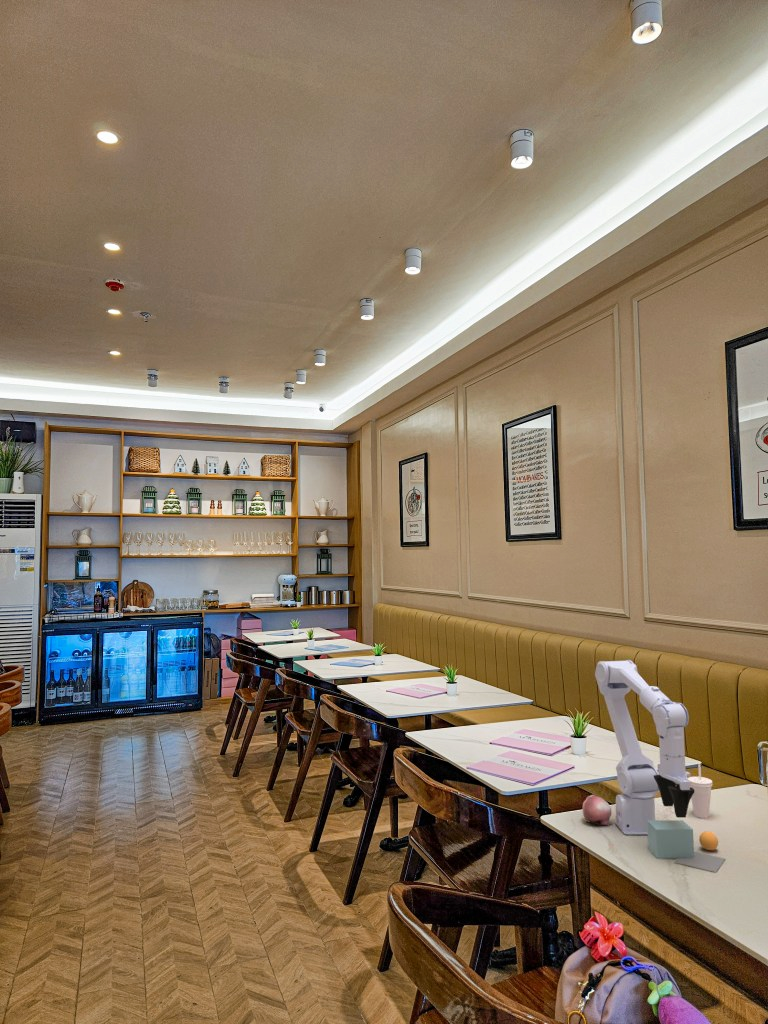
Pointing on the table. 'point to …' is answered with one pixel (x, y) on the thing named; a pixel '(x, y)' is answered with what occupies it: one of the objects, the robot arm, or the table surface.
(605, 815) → the onion
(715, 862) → the tape square
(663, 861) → the table surface
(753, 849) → the table surface
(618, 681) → the robot arm
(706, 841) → the ball
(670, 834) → the light blue upright block
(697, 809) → the smoothie
